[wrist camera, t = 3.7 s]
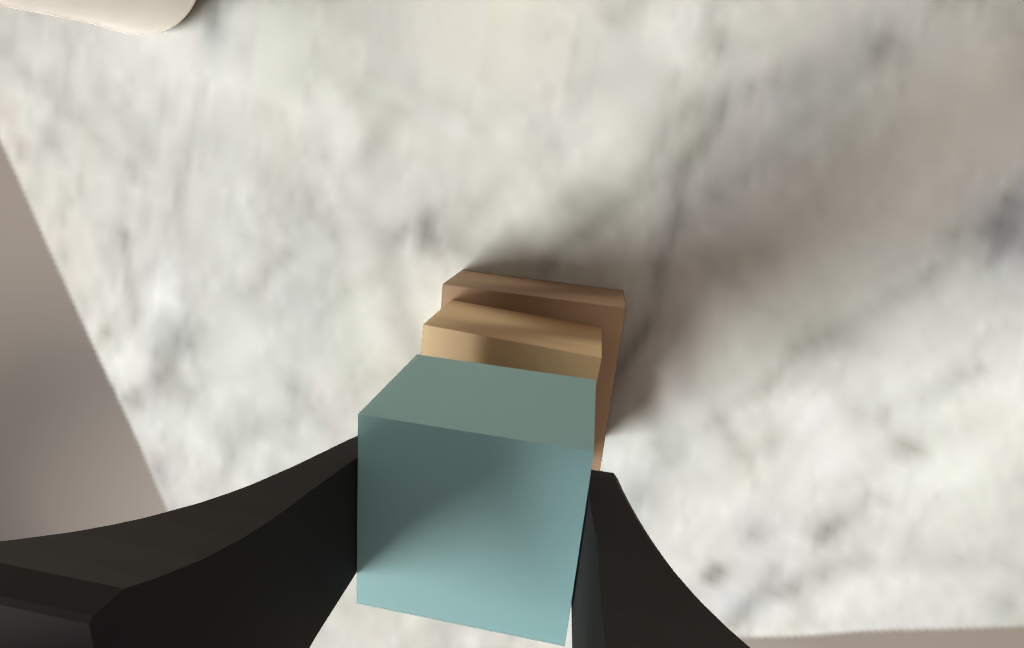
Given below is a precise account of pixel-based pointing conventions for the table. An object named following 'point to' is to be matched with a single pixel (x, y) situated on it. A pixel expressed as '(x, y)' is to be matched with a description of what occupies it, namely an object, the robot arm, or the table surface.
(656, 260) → the table surface
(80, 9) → the drinking glass
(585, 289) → the tower base
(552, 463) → the teal block
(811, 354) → the table surface
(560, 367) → the tower mid
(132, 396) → the table surface
